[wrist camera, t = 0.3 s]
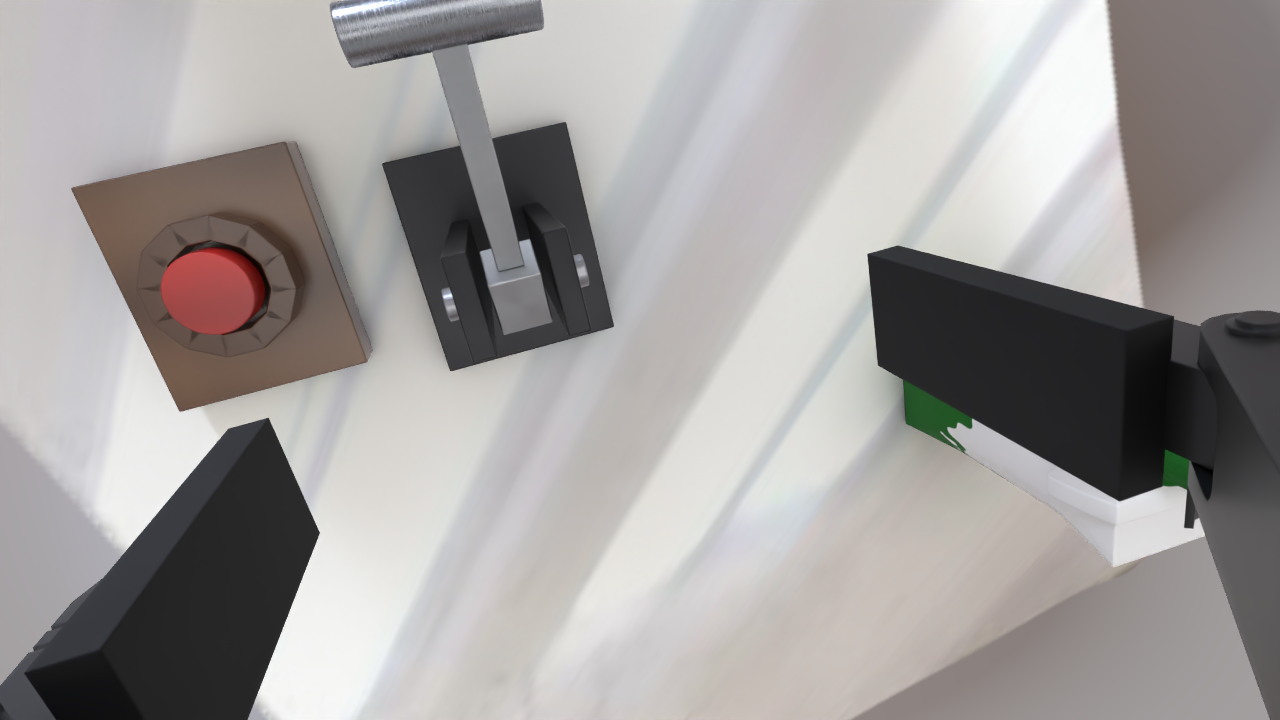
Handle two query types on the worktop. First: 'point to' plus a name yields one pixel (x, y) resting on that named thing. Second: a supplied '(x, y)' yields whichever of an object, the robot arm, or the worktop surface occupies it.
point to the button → (212, 290)
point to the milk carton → (1068, 485)
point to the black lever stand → (455, 236)
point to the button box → (252, 226)
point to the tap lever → (461, 118)
